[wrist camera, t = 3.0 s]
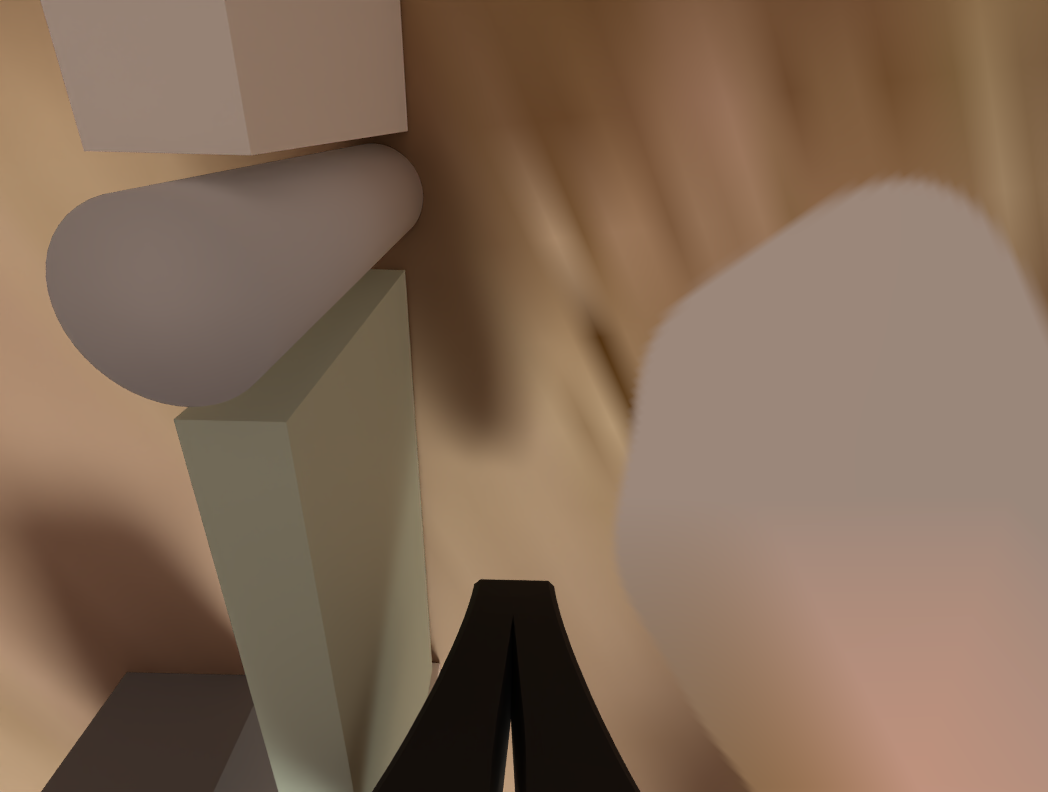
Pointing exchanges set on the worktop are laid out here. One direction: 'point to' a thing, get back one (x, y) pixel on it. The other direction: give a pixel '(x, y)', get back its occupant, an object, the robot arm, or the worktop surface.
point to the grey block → (170, 739)
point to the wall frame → (226, 182)
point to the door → (324, 540)
